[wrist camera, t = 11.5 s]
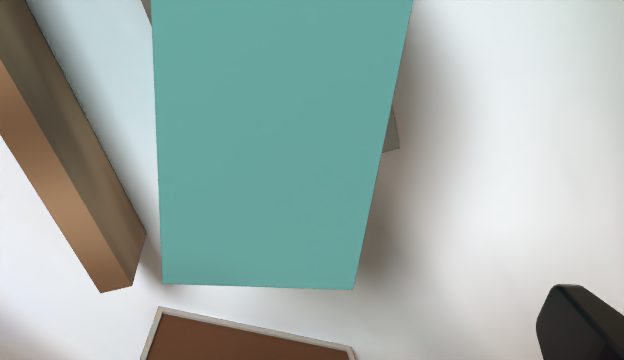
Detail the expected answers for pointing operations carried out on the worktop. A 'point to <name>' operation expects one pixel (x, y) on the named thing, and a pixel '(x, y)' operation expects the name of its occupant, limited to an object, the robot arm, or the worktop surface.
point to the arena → (71, 152)
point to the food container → (229, 341)
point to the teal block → (271, 135)
